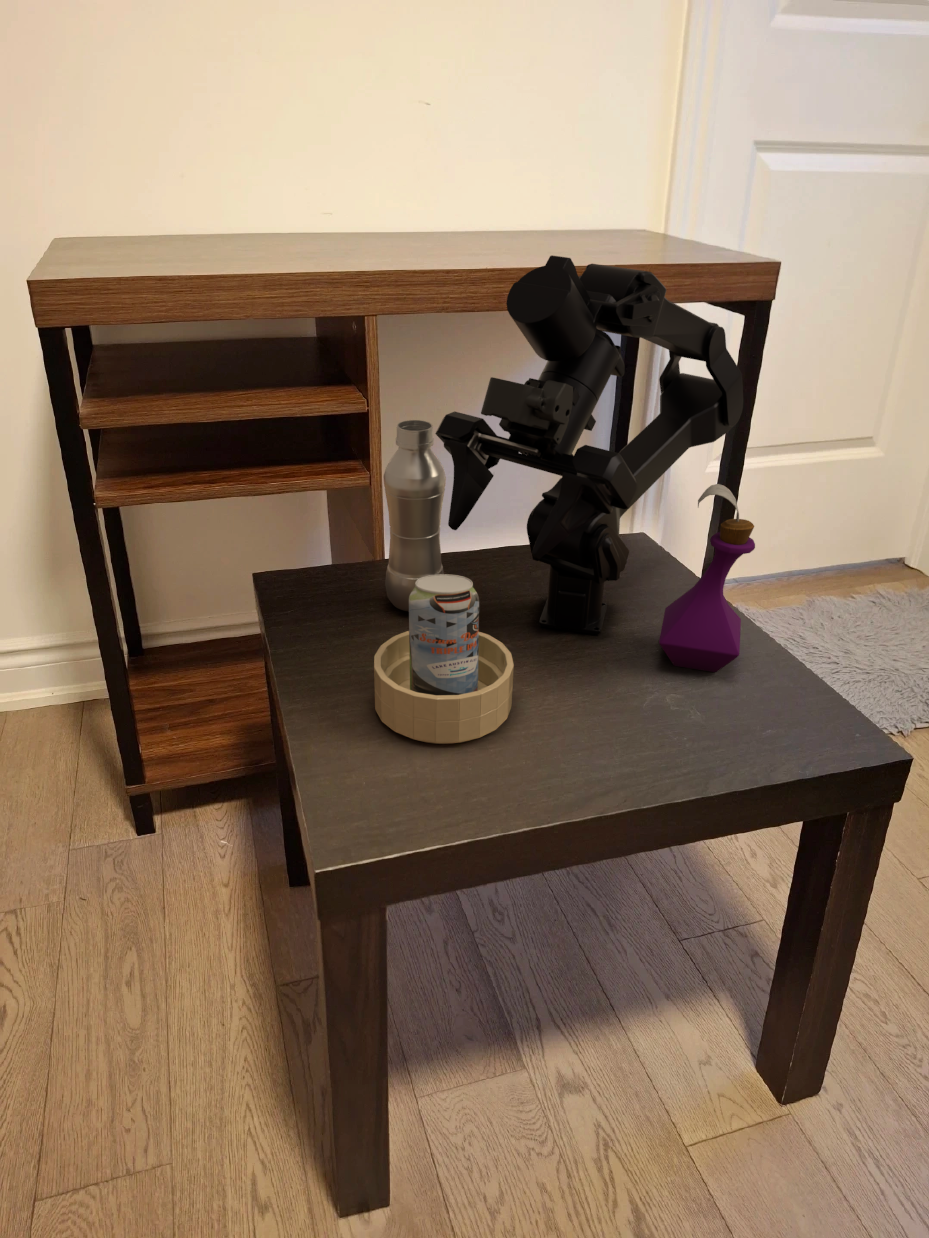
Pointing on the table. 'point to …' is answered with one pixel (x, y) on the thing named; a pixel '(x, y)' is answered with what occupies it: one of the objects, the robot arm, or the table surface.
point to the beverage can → (443, 635)
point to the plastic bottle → (413, 510)
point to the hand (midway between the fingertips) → (492, 542)
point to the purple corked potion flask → (709, 602)
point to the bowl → (443, 713)
